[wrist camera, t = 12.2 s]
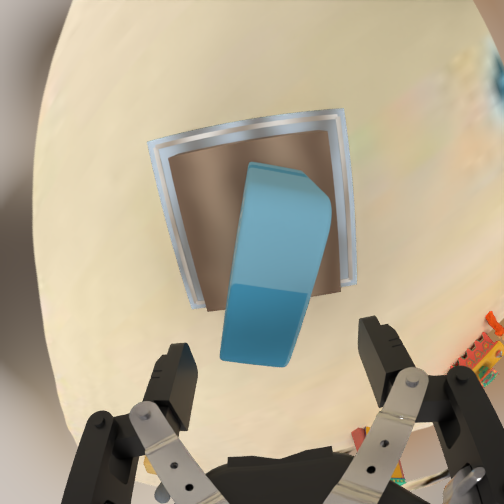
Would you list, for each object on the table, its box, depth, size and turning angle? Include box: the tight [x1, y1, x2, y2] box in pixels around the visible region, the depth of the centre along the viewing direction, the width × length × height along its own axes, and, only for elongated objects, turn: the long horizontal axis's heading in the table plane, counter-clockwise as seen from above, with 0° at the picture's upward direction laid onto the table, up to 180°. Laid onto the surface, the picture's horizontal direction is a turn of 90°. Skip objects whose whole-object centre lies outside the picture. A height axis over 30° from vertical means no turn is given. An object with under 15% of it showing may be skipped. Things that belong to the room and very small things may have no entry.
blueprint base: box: [147, 108, 357, 312], centre depth 30 cm, size 20×20×5 cm
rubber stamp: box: [144, 455, 171, 503], centre depth 49 cm, size 10×6×12 cm, turn 83°
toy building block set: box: [351, 311, 504, 486], centre depth 39 cm, size 12×35×14 cm, turn 146°
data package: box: [220, 162, 332, 367], centre depth 22 cm, size 12×4×12 cm, turn 170°
